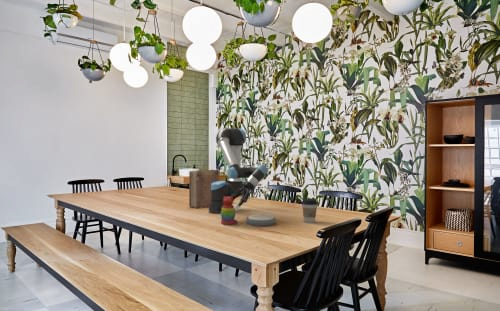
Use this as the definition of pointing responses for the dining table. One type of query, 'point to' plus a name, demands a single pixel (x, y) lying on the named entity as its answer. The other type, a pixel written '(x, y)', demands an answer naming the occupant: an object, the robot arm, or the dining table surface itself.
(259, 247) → the dining table surface
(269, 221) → the pedestal
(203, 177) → the book
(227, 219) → the stacking bear
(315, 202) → the coffee cup
